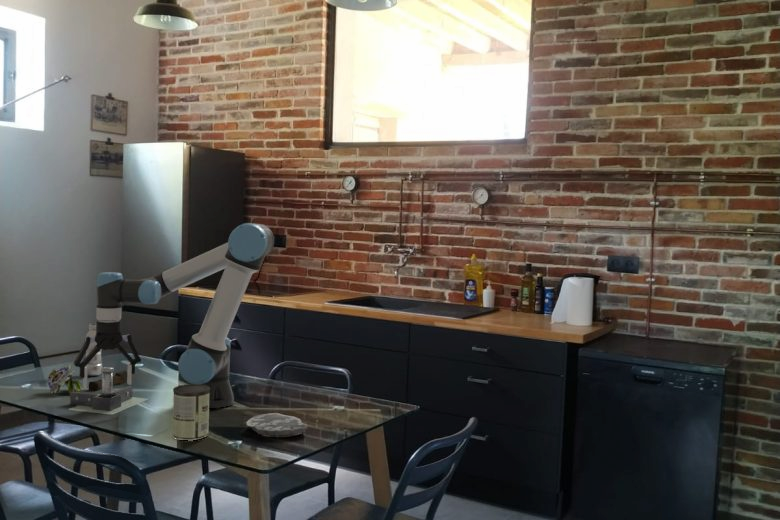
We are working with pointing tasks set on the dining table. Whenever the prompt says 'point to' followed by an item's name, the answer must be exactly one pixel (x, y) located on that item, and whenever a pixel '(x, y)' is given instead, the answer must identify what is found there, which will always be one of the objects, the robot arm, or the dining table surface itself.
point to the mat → (124, 406)
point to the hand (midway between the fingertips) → (107, 386)
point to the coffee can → (191, 412)
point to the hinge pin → (107, 381)
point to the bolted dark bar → (124, 393)
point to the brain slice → (276, 424)
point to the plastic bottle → (95, 362)
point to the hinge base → (95, 401)
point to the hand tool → (117, 379)
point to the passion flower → (63, 380)
